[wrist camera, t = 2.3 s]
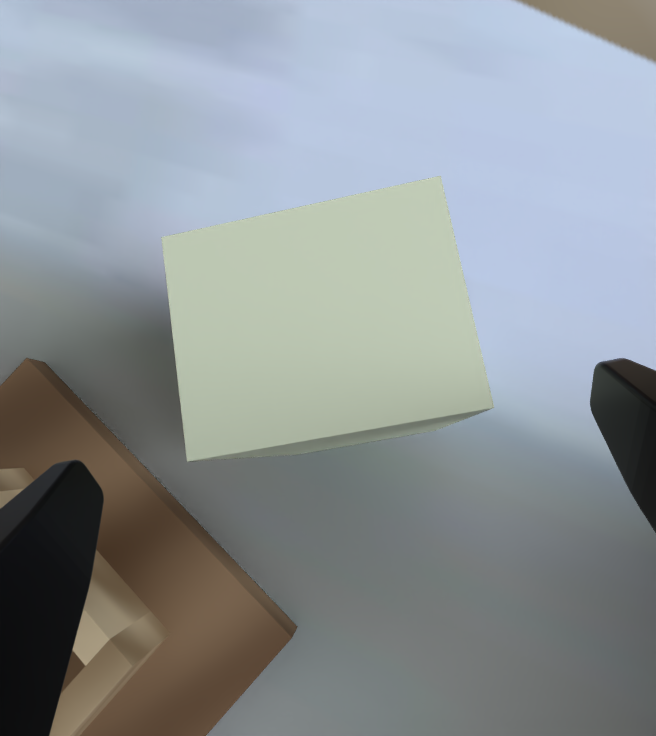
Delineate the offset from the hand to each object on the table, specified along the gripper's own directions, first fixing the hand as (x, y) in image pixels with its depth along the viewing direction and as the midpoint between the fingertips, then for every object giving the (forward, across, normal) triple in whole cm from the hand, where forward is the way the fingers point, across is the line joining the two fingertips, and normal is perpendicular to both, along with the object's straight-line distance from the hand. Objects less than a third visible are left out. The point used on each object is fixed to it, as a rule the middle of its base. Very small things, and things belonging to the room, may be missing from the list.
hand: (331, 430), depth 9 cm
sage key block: (+8, 0, +5) cm, 10 cm away
